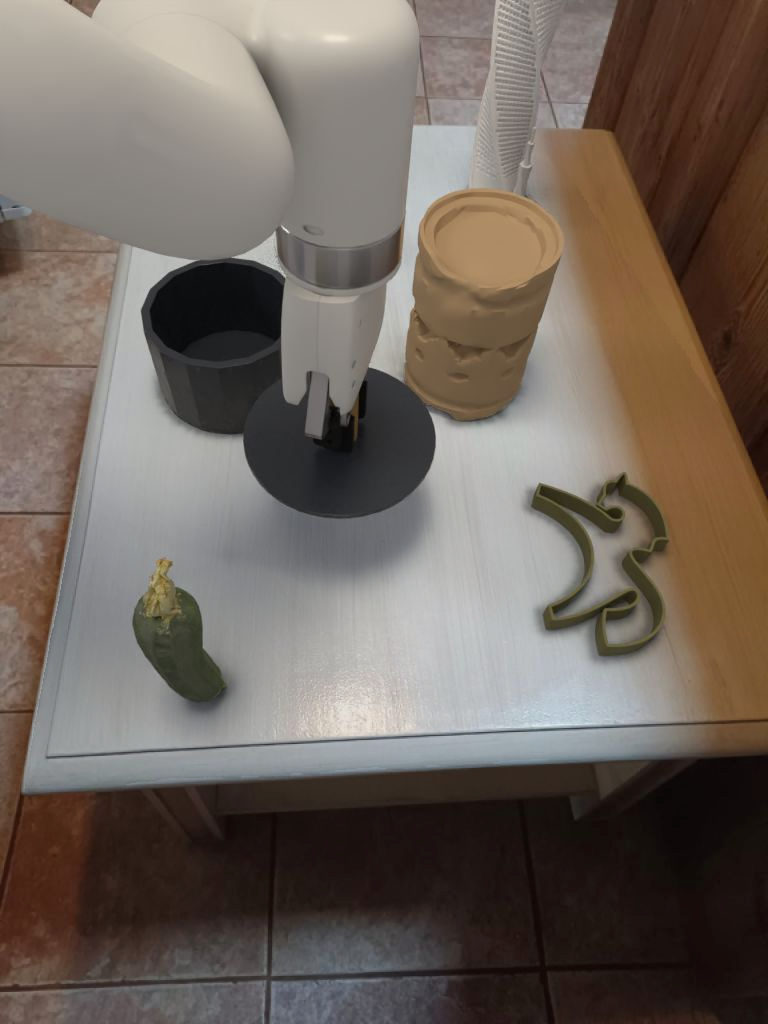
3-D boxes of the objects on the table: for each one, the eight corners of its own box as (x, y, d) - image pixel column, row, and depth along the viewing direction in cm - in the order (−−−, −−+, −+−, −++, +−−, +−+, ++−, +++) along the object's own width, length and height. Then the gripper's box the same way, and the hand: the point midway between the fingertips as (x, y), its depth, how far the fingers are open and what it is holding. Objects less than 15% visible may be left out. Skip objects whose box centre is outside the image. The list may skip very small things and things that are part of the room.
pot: (317, 419, 73) (315, 352, 65) (171, 445, 71) (150, 379, 63) (289, 320, 81) (283, 248, 73) (155, 340, 78) (134, 268, 70)
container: (511, 432, 74) (557, 294, 59) (391, 407, 75) (405, 265, 59) (526, 346, 80) (570, 202, 65) (415, 324, 81) (433, 177, 66)
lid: (459, 500, 57) (472, 450, 52) (263, 541, 54) (255, 493, 49) (404, 358, 65) (410, 301, 59) (230, 388, 62) (219, 331, 56)
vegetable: (192, 728, 56) (130, 627, 39) (162, 686, 58) (89, 572, 41) (239, 692, 58) (198, 580, 41) (208, 652, 60) (157, 529, 43)
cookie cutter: (528, 478, 71) (533, 466, 69) (649, 485, 71) (656, 473, 70) (543, 652, 61) (549, 643, 60) (682, 659, 62) (692, 651, 60)
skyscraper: (452, 218, 92) (492, -42, 68) (463, 181, 96) (504, -75, 72) (518, 231, 91) (581, -27, 67) (525, 193, 95) (588, -62, 72)
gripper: (319, 145, 47) (325, 348, 63) (229, 313, 39) (261, 499, 54) (431, 168, 46) (408, 367, 62) (364, 343, 38) (357, 523, 54)
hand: (340, 427), depth 58 cm, fingers closed on lid, 2 cm apart
